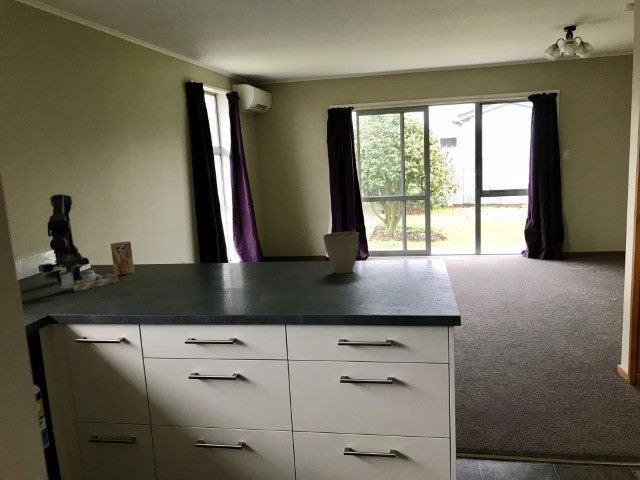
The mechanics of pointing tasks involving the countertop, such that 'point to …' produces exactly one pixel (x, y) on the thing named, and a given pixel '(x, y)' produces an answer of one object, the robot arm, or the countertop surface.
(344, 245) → the plant pot
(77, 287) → the lane
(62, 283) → the jar
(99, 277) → the follower
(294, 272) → the countertop surface
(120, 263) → the candy box
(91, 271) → the jar in lane
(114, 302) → the countertop surface
